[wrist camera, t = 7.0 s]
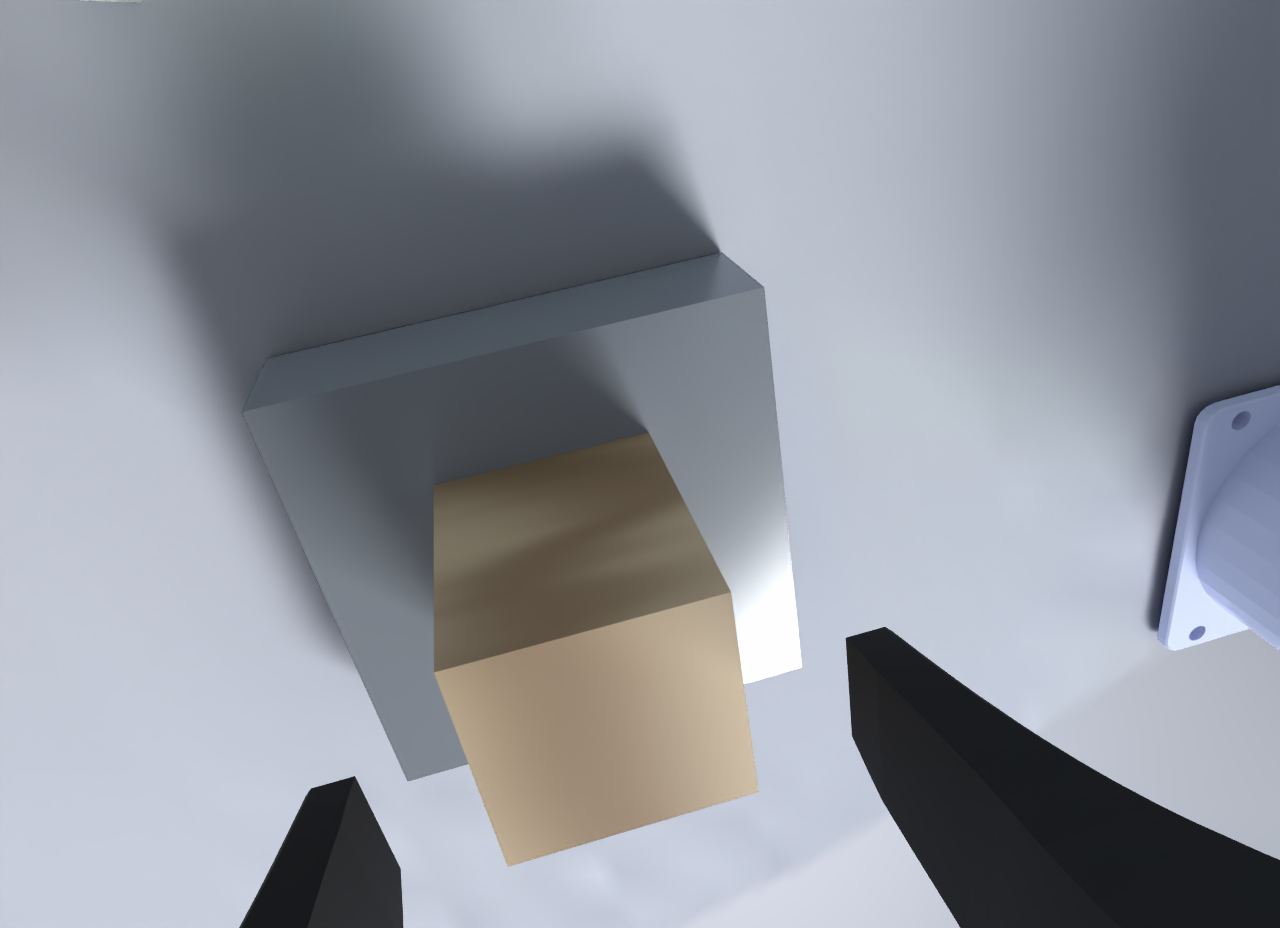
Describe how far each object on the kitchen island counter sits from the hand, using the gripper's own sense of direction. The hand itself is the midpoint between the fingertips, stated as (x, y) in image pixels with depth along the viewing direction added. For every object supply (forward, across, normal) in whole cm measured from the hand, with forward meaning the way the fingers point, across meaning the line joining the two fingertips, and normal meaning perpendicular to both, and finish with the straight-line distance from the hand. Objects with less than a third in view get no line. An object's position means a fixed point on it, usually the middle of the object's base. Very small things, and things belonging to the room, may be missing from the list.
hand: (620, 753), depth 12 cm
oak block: (+5, 0, 0) cm, 5 cm away
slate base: (+8, 0, 0) cm, 8 cm away
